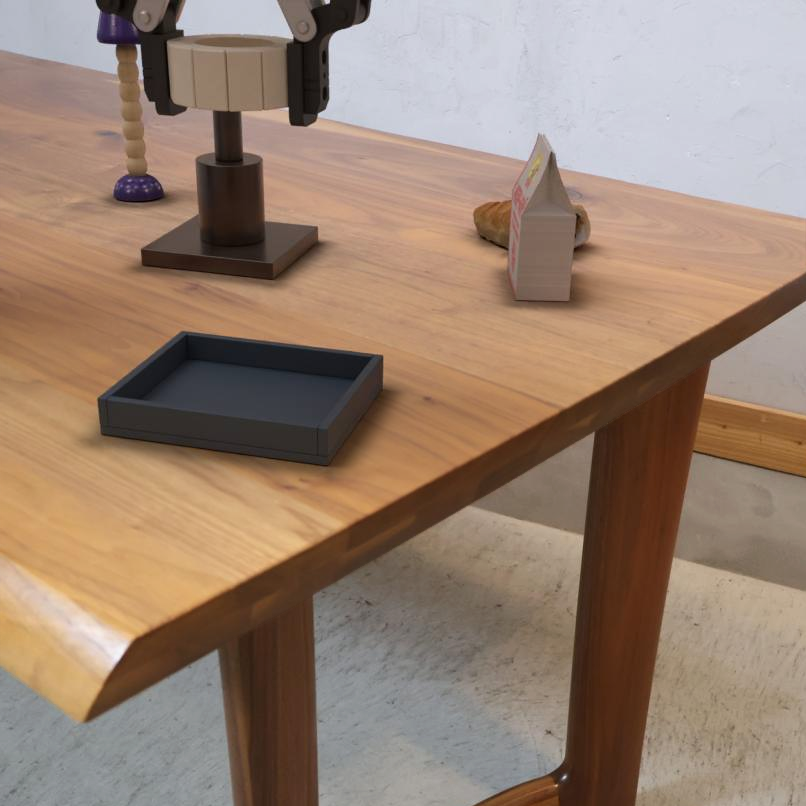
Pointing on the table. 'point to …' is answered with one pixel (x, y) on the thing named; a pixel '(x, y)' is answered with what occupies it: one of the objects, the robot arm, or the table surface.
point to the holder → (230, 216)
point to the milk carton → (541, 230)
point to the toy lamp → (129, 109)
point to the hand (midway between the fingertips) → (238, 117)
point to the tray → (244, 397)
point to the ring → (229, 72)
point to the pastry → (496, 222)
